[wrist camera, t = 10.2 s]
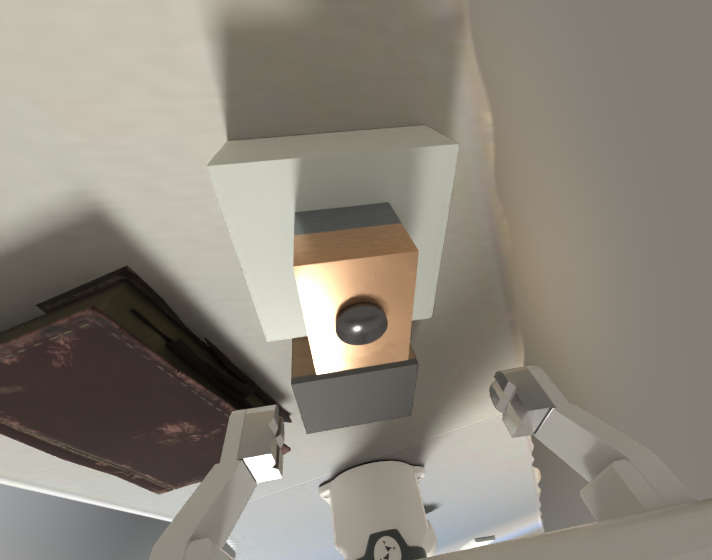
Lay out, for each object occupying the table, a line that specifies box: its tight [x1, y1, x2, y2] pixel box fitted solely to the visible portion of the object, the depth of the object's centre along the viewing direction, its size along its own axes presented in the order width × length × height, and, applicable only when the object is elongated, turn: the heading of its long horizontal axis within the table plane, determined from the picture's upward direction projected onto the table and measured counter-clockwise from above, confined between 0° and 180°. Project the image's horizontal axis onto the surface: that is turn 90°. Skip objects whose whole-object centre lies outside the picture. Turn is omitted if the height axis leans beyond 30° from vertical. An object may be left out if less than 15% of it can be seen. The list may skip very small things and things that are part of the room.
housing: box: [293, 202, 419, 375], centre depth 15 cm, size 5×7×5 cm
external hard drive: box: [459, 536, 495, 551], centre depth 105 cm, size 2×8×12 cm
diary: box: [0, 266, 292, 494], centre depth 28 cm, size 19×25×5 cm
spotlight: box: [422, 519, 437, 557], centre depth 67 cm, size 8×11×8 cm
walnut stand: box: [291, 336, 418, 434], centre depth 28 cm, size 8×10×6 cm
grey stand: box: [206, 125, 459, 342], centre depth 19 cm, size 12×12×5 cm
